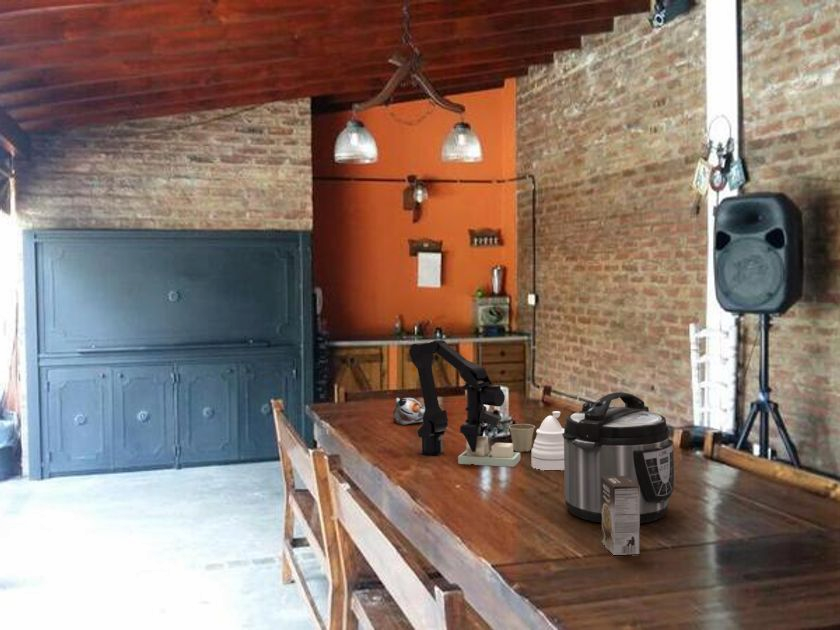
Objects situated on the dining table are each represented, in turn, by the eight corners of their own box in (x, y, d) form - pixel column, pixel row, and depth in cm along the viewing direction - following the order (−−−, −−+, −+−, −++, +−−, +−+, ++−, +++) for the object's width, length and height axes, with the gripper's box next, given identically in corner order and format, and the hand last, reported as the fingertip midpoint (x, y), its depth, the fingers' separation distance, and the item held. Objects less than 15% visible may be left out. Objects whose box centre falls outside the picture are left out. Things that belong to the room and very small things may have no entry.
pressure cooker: (586, 534, 203) (585, 405, 201) (543, 503, 230) (542, 389, 228) (697, 523, 209) (697, 398, 208) (643, 494, 237) (642, 383, 235)
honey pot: (575, 463, 276) (574, 409, 275) (565, 472, 264) (564, 416, 263) (538, 460, 281) (537, 407, 280) (526, 469, 269) (525, 413, 268)
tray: (458, 463, 279) (457, 446, 278) (466, 457, 288) (466, 440, 288) (514, 466, 272) (513, 448, 272) (520, 460, 282) (520, 442, 282)
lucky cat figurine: (430, 420, 359) (433, 394, 352) (418, 436, 350) (421, 409, 342) (399, 409, 364) (401, 383, 357) (387, 424, 355) (388, 398, 347)
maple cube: (466, 457, 280) (466, 439, 279) (471, 453, 285) (471, 435, 285) (484, 458, 278) (483, 440, 277) (488, 453, 283) (488, 436, 283)
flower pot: (534, 453, 291) (534, 429, 291) (507, 453, 293) (507, 428, 293) (536, 447, 301) (536, 424, 300) (510, 447, 302) (509, 423, 302)
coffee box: (600, 543, 196) (599, 475, 195) (627, 542, 196) (626, 474, 195) (612, 557, 187) (612, 485, 186) (640, 555, 187) (640, 484, 186)
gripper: (492, 409, 269) (492, 456, 270) (505, 400, 287) (505, 444, 288) (459, 408, 273) (459, 455, 274) (473, 399, 290) (474, 443, 291)
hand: (476, 449), depth 282 cm, fingers open, 6 cm apart
